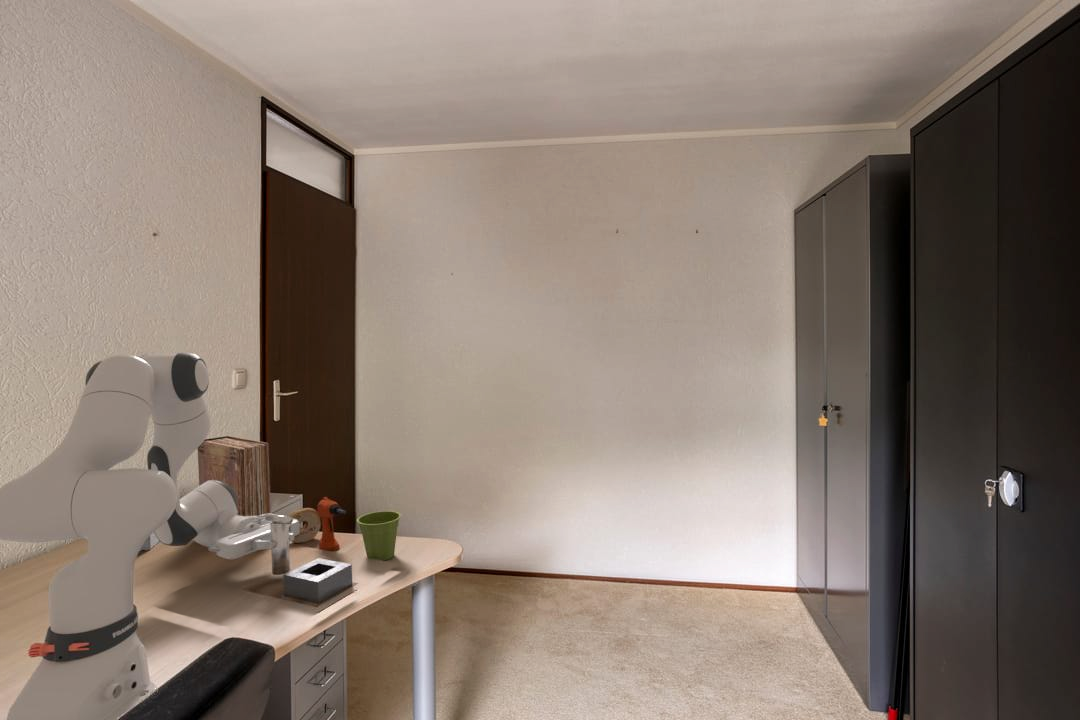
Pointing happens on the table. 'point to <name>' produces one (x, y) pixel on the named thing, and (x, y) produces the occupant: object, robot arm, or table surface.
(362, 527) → the plant pot
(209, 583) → the table surface
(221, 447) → the book
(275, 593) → the beige thin flat slab
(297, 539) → the stone disc
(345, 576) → the square socket block
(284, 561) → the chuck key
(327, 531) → the toy drill
